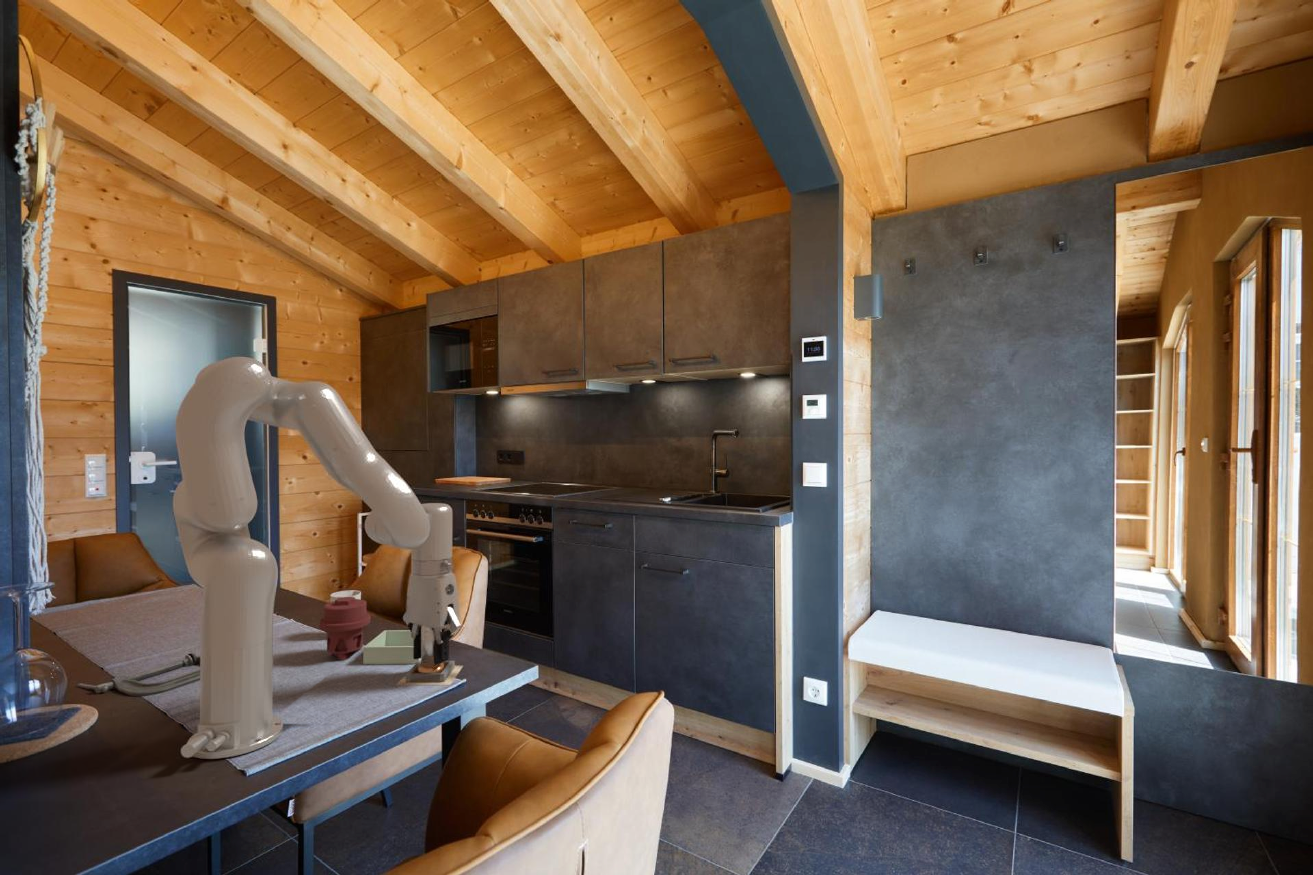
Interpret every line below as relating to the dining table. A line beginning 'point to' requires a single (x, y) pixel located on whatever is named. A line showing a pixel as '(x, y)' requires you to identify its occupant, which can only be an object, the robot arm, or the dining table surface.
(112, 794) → the dining table surface
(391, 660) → the bin
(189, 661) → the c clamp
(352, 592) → the white cup
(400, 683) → the socket pad
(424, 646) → the grey rounded tall piece
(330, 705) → the dining table surface
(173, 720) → the dining table surface
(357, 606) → the mechanical component
